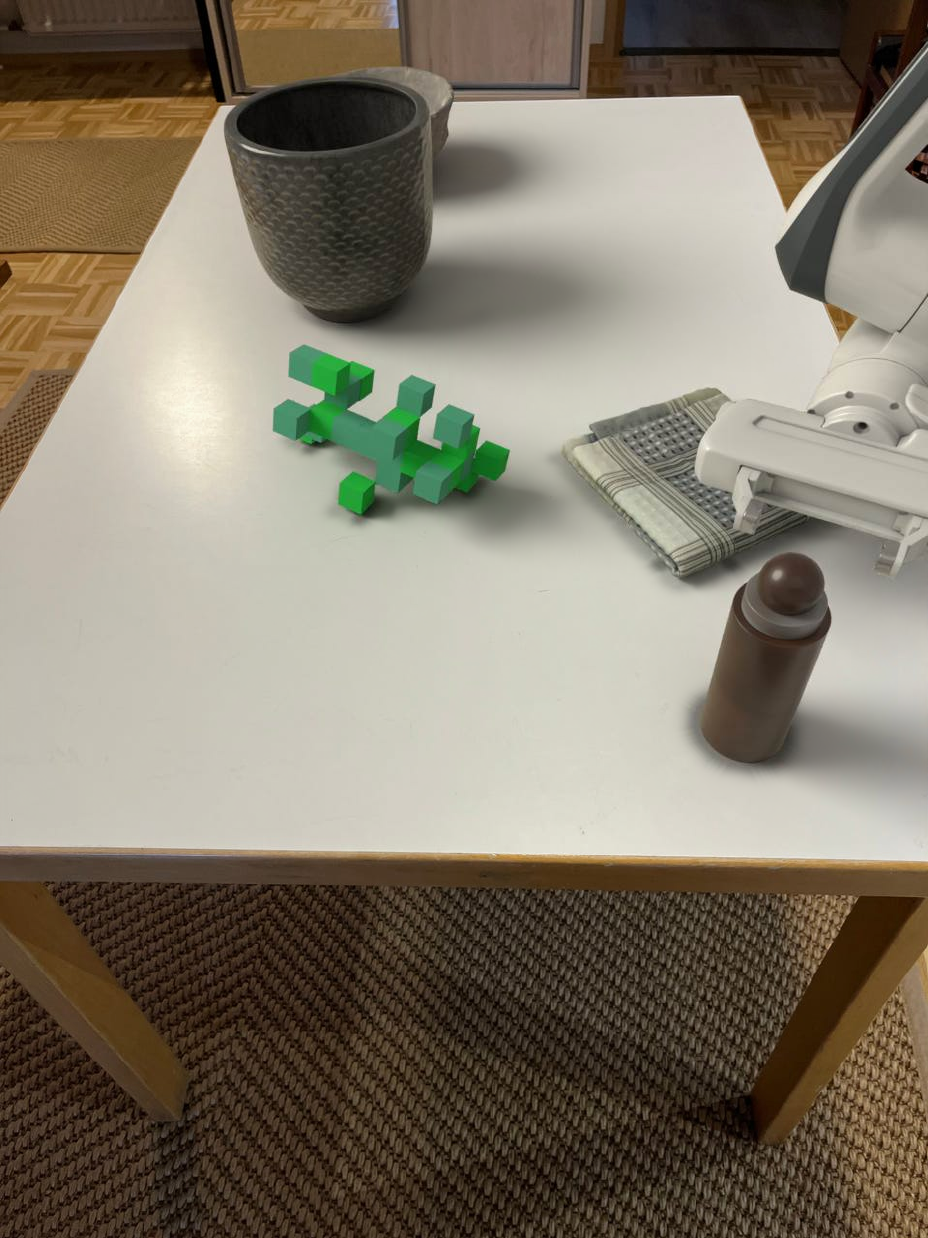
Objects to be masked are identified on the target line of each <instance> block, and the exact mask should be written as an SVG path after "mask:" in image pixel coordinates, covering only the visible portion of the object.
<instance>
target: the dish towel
mask: <svg viewBox="0 0 928 1238" xmlns="http://www.w3.org/2000/svg"><path fill="white" fill-rule="evenodd" d="M726 402H733V401H732V399H730V397H729V396H727V395H726V394H725V393H723V392H722V391H721V390H720V389H719V388H717V387H703V388H700V389H696V390H695V391H691V392H689V393H685V394H683V395H681V396H679V397H676V398H672V399H670V400H667V401H664V402H661V403H655V404H651V405H648V406H643V407H640V408H638V409H636V410H632V411H629V412H626V413H622V414H620V415H617V416H613V417H610V418H605V419H601V420H598V421H594V422H592V423H589V424H588V427H589V429H590V430H591V431H592V432H591V433H586V434H582V435H580V436H578V437H573V438H569V439H568V440H566V441H565V442H563V444H562V449H561V450H560V453H561V455H562V456H563V457H564V458H565V459H566V461H568V463H569V464H570V465H571V466H572V467H573V469H574V470H575V471H576V472H577V474H578V475H579V476H580V477H581V478H583V479H584V480H585V481H586V483H588V484H589V485H590V486H591V487H592V488H593V489H594V490H595V491H596V492H597V493H598V494H599V496H601V497H602V498H603V499H604V501H606V502H607V503H608V505H610V506H611V508H613V509H614V510H615V511H616V513H618V514H619V515H620V516H621V517H622V518H623V520H625V522H626V523H627V524H628V525H629V527H630V528H631V530H633V531H634V533H636V534H637V535H638V537H639V538H640V539H642V541H643V542H644V543H645V545H647V546H648V547H649V548H650V549H651V550H652V552H654V554H655V555H657V556H658V557H659V559H660V560H661V561H662V562H663V563H664V564H665V565H666V566H667V567H668V568H669V570H670V571H671V573H672V575H673V576H674V577H675V578H683V577H687V576H690V575H691V574H694V573H697V572H699V571H702V570H703V569H707V568H708V567H710V566H713V565H715V564H717V563H719V562H721V561H723V560H725V559H728V558H731V557H733V556H734V555H737V554H739V553H741V552H744V551H746V550H748V549H751V548H753V547H755V546H757V545H759V544H761V543H763V542H765V541H766V542H767V540H770V539H772V538H773V537H776V536H778V535H781V534H783V533H786V532H788V531H791V530H792V529H795V528H797V527H799V526H801V525H803V524H806V523H808V522H810V521H812V520H813V521H814V520H815V519H816V518H815V517H811V516H808V515H805V514H801V513H798V512H795V511H791V510H788V509H785V508H781V507H778V506H774V505H771V504H768V503H765V505H764V508H763V511H762V513H761V514H762V516H761V519H760V522H759V524H758V527H757V528H756V530H755V533H754V535H753V534H749V533H746V532H742V531H739V530H736V529H733V525H734V520H735V516H736V513H737V511H736V508H735V506H734V503H733V500H732V496H733V493H731V492H727V491H724V490H721V489H717V488H714V487H710V486H707V485H704V484H702V483H701V482H700V481H699V480H698V478H697V476H696V474H695V461H696V456H697V451H698V447H699V444H700V441H701V439H702V437H703V435H704V434H705V433H706V431H707V430H708V429H709V427H710V426H711V425H712V423H713V422H714V418H715V416H716V414H717V413H718V411H719V409H720V408H721V406H722V405H723V404H724V403H726Z"/></svg>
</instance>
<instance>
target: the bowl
mask: <svg viewBox="0 0 928 1238" xmlns="http://www.w3.org/2000/svg"><path fill="white" fill-rule="evenodd" d="M332 76H360V77H372V78H378V79H384V80H389V81H393V82H397V83H399V84H402V85H405V86H407V87H409V88H411V89H413V90H415V91H416V92H417V93H419V94H420V95H421V96H422V97H423V98H424V99H425V100H426V102H427V104H428V107H429V111H430V117H431V140H432V159H433V160H434V159H435V158H436V157H437V156H438V155H439V154H440V152H441V151H442V150H443V148H444V147H445V144H446V142H447V140H448V137H449V135H450V133H449V132H450V131H449V127H448V123H449V118H450V113H451V109H452V107H453V103H454V101H455V91H454V87H453V85H451V84H450V83H449V82H448V81H447V79H446V78H445V77H443V76H441V75H438V74H436V73H433V72H430V71H428V70H426V69H420V68H415V67H410V66H377V67H375V66H374V67H367V68H357V69H355V70H348V71H344V72H340V73H335V74H333V75H330V76H328V77H332Z"/></svg>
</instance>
